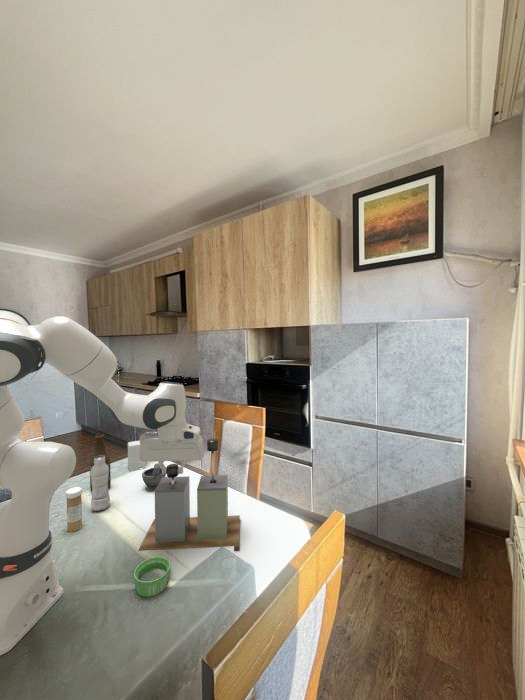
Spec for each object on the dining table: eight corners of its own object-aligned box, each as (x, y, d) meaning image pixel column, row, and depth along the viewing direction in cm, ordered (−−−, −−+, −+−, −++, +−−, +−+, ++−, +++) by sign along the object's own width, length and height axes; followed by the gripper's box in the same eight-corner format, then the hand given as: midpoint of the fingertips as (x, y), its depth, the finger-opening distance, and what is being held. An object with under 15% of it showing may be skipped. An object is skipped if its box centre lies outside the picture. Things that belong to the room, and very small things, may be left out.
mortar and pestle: (140, 486, 132) (140, 459, 131) (161, 480, 137) (161, 454, 137) (147, 496, 122) (146, 468, 122) (169, 490, 128) (169, 462, 128)
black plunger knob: (223, 503, 94) (223, 443, 93) (200, 504, 93) (199, 444, 93) (225, 491, 101) (224, 436, 101) (203, 492, 101) (202, 436, 100)
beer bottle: (91, 487, 130) (90, 433, 130) (111, 484, 133) (110, 431, 133) (89, 496, 123) (88, 438, 123) (110, 492, 126) (109, 436, 126)
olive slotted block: (226, 538, 93) (226, 487, 93) (197, 540, 93) (197, 488, 92) (227, 521, 102) (227, 475, 102) (201, 522, 102) (201, 475, 101)
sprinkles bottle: (69, 525, 103) (69, 487, 103) (84, 523, 104) (83, 485, 104) (64, 533, 99) (63, 493, 99) (79, 531, 100) (79, 492, 100)
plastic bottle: (113, 504, 117) (112, 453, 116) (102, 514, 110) (101, 460, 110) (98, 503, 117) (97, 453, 117) (86, 513, 111) (85, 460, 110)
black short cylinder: (182, 530, 93) (181, 470, 93) (158, 531, 93) (157, 471, 92) (187, 516, 101) (186, 461, 100) (164, 517, 100) (164, 461, 100)
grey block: (184, 540, 93) (184, 489, 92) (155, 542, 92) (154, 490, 92) (189, 523, 102) (189, 476, 101) (163, 524, 101) (162, 477, 101)
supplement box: (145, 468, 150) (144, 443, 150) (129, 471, 147) (128, 446, 146) (143, 463, 157) (142, 439, 156) (127, 466, 153) (127, 442, 153)
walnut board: (239, 550, 90) (239, 545, 90) (138, 555, 88) (138, 550, 88) (239, 519, 106) (239, 515, 106) (154, 523, 104) (154, 518, 104)
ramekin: (134, 576, 80) (134, 561, 80) (169, 567, 84) (169, 552, 83) (132, 604, 72) (132, 586, 72) (171, 592, 75) (171, 576, 75)
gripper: (135, 435, 92) (136, 478, 93) (202, 433, 93) (202, 476, 94) (142, 429, 98) (143, 470, 99) (204, 427, 100) (205, 468, 100)
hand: (172, 473), depth 96 cm, fingers closed on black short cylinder, 4 cm apart
